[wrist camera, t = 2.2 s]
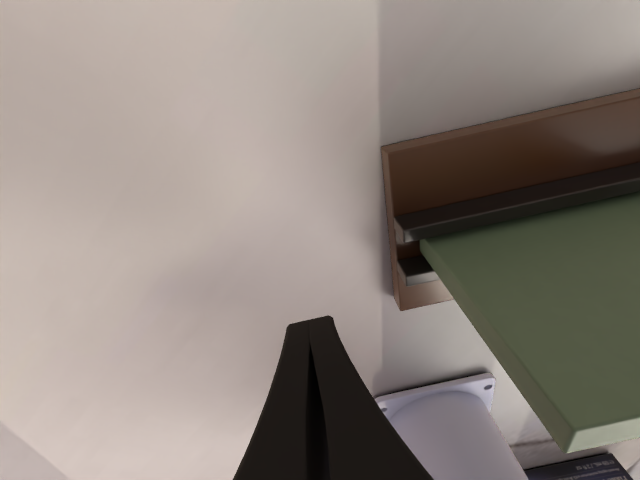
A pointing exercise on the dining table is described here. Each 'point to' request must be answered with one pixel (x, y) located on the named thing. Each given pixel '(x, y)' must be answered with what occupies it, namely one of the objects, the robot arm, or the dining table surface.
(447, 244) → the sliding door
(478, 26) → the dining table surface
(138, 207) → the dining table surface
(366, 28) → the dining table surface
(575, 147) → the door track
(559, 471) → the small box
